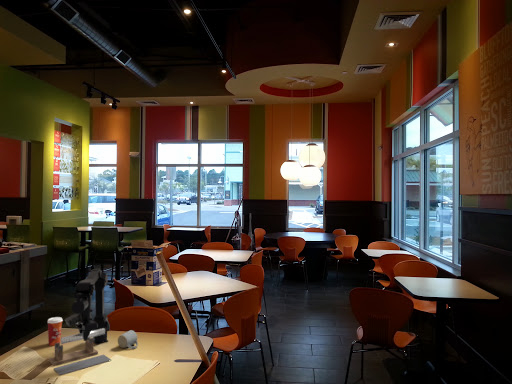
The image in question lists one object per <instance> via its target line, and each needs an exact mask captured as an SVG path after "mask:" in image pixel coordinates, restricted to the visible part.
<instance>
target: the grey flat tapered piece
mask: <svg viewBox="0 0 512 384" xmlns="http://www.w3.org/2000/svg"><path fill="white" fill-rule="evenodd" d="M109 360H111V361H112V359H111V358H110V357H108V356H107V355H105V354H101V355H95V356H94V357H93V356H92V357H90V358H89V357H88V358H86V359H85V358H84V359H83V360H82V359H81V360H77V361H76V362H75V361H74V362H70V363H66V364H63V365H59V366H56V367H54V368H53V370H54V371H55V372H56V373H57V374H58V376H63V375H66V374H69V373H74V372H78V371H81V370H84V369H88V368H91V367H94V366H99V365H101V364H104V363H108V362H110V361H109ZM107 361H108V362H107Z"/></svg>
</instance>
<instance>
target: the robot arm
mask: <svg viewBox="0 0 512 384" xmlns="http://www.w3.org/2000/svg"><path fill="white" fill-rule="evenodd" d="M108 281H109V276H108V275H107V273H106V272H104V271H103V270H102V269H91V270H90V273H88V275H87V277H86V278H85V279H83V280H80V281H79V282H78V283H77V284H76V286H75V291H74V295H73V298H74V299H76V300H75V301H74V302H73V303H72V305H71V310H72V312H73V313H74V314H71V315H69V316H68V317H66V318H65V319H64V321H65V324H66V326H67V327H69V328H71V327H73V326H75V327H76V328H77V329H78V331H79V333H83V339H82V340H83V341H84V342H85V341H86V340H87V338H88V336H89V334H90V332H91V331H93V330H98V329H102V328H104V329H105V334H103V335H99V336H95V337H92V338H94V343H95V344H96V345H100V344H102V343H107V342H109V340H108V332H109V331H110V330H111V329H110V328H111V327H110V323H109V320H108V315H107V314H106V313H105V290H104V289H105V288H106V286H107V284H108ZM94 293H95V295H94ZM92 296H95V297H94V299H95V302H94V303H95V305H94V306H95V308H94V309H95V310H94V311H95V315H94V317H93V318H92V312H93V309H92ZM110 332H111V331H110ZM79 333H78V334H79ZM94 343H93V344H94Z"/></svg>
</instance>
